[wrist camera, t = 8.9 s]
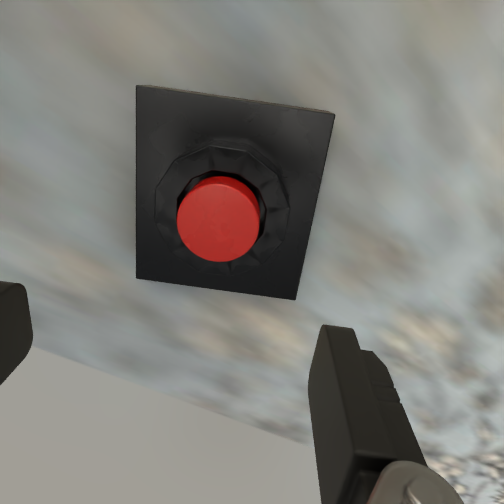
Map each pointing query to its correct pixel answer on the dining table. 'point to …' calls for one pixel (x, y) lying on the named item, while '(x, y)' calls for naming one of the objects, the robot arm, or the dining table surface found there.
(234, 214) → the button
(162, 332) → the dining table surface
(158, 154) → the housing
